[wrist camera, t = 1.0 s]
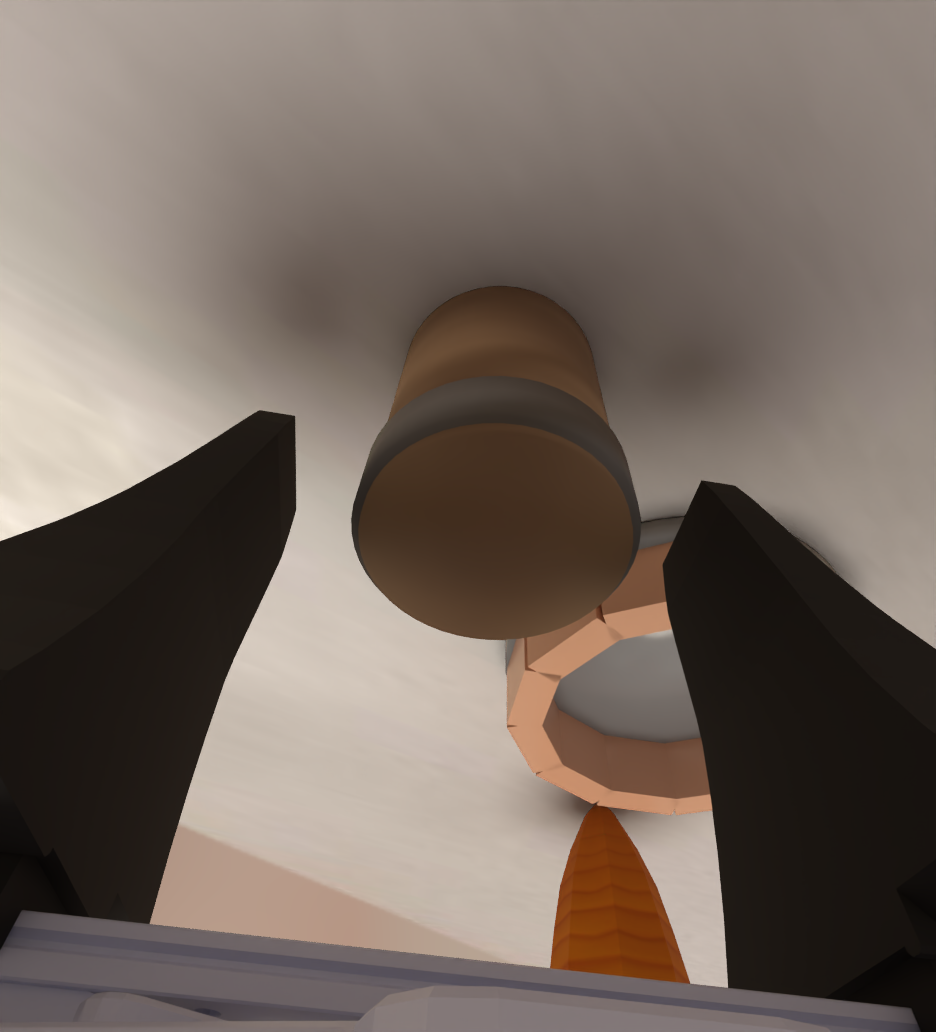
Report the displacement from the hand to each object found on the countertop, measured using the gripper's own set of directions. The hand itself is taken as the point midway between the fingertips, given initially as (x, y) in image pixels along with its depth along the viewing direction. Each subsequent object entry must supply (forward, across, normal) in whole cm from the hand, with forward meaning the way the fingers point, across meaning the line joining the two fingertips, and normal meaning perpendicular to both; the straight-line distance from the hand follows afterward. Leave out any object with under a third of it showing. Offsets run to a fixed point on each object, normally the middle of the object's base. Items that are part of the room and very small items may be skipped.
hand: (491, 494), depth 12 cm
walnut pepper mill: (+4, 0, 0) cm, 5 cm away
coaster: (+4, -7, +8) cm, 12 cm away
